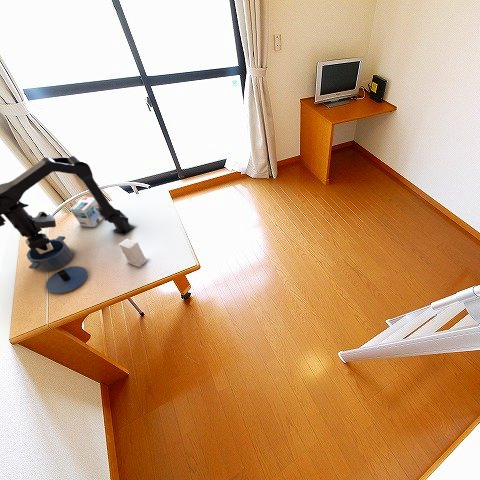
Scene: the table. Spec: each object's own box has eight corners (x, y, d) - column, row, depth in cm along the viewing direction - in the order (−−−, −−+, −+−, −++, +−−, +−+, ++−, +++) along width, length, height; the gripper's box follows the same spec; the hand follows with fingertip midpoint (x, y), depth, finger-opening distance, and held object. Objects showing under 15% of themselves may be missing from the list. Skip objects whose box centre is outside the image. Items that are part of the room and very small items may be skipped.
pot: (83, 245, 128) (75, 236, 124) (56, 276, 115) (47, 267, 111) (53, 244, 128) (45, 234, 123) (23, 275, 114) (13, 265, 110)
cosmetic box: (147, 260, 126) (137, 242, 118) (140, 267, 123) (129, 248, 115) (136, 256, 127) (126, 238, 119) (128, 263, 124) (117, 244, 116)
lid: (95, 268, 120) (89, 260, 116) (75, 295, 110) (68, 287, 106) (61, 267, 119) (54, 258, 115) (38, 293, 109) (29, 285, 105)
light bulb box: (94, 227, 137) (84, 210, 130) (80, 226, 137) (69, 209, 130) (107, 214, 145) (97, 197, 138) (93, 213, 145) (83, 196, 137)
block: (50, 243, 119) (44, 236, 116) (53, 249, 117) (47, 241, 114) (37, 248, 116) (31, 240, 113) (40, 254, 114) (33, 246, 111)
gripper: (54, 220, 106) (75, 248, 117) (37, 199, 114) (59, 227, 125) (17, 234, 100) (43, 262, 110) (2, 210, 107) (27, 239, 118)
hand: (44, 247), depth 116 cm, fingers closed on block, 4 cm apart
